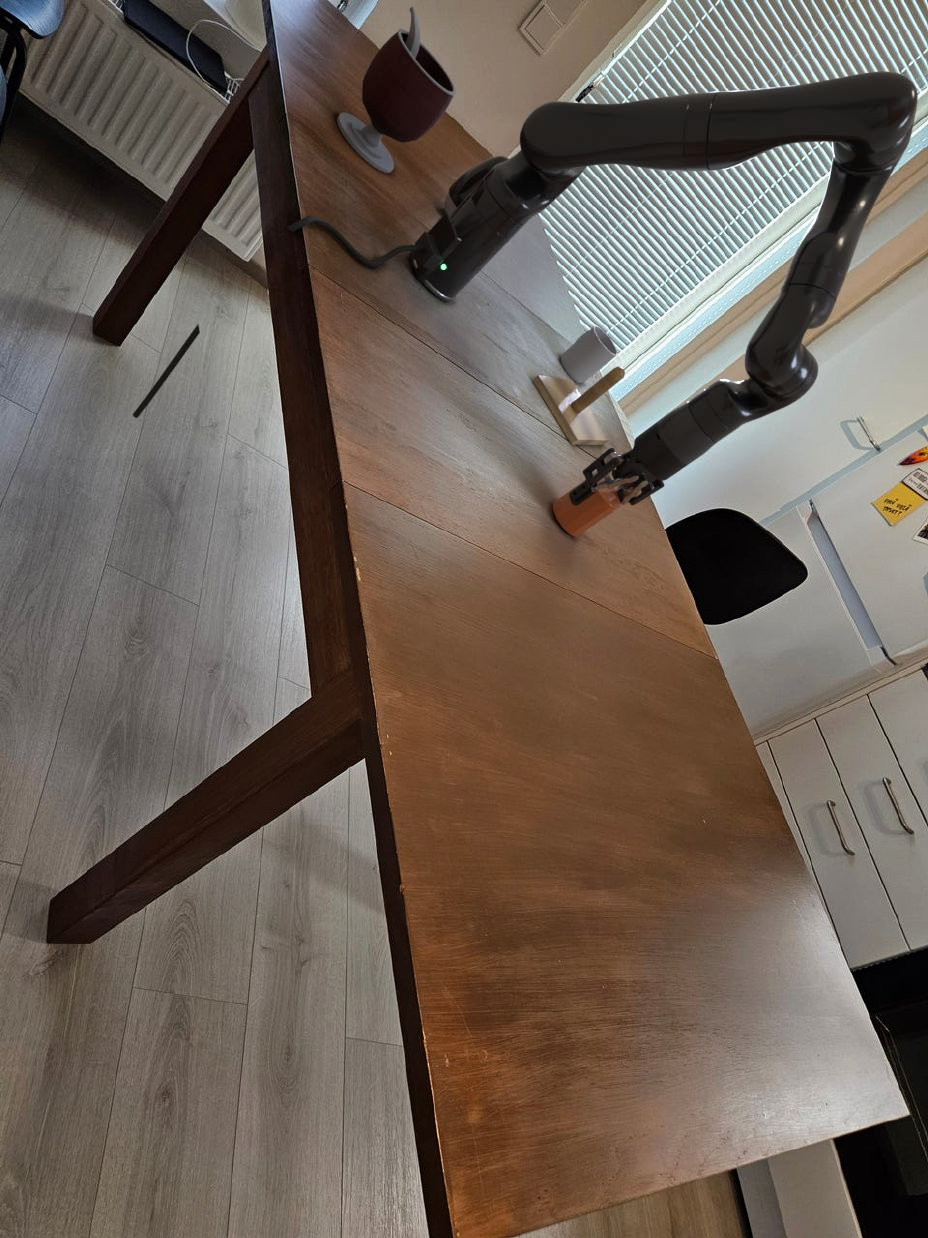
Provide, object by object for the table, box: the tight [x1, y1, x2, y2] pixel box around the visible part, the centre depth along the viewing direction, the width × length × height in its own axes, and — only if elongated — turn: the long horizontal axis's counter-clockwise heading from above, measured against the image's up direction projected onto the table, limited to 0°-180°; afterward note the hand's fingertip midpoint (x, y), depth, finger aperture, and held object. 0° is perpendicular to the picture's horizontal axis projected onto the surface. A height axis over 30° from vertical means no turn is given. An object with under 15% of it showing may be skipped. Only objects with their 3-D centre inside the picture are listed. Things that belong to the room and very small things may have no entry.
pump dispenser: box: [443, 155, 509, 214], centre depth 152 cm, size 10×10×15 cm
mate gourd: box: [336, 6, 457, 174], centre depth 137 cm, size 16×14×20 cm
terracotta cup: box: [552, 478, 621, 538], centre depth 122 cm, size 6×6×8 cm
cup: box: [560, 325, 618, 384], centre depth 160 cm, size 7×10×9 cm
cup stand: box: [532, 365, 626, 446], centre depth 145 cm, size 14×14×13 cm
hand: (585, 505), depth 122 cm, fingers closed on terracotta cup, 6 cm apart
